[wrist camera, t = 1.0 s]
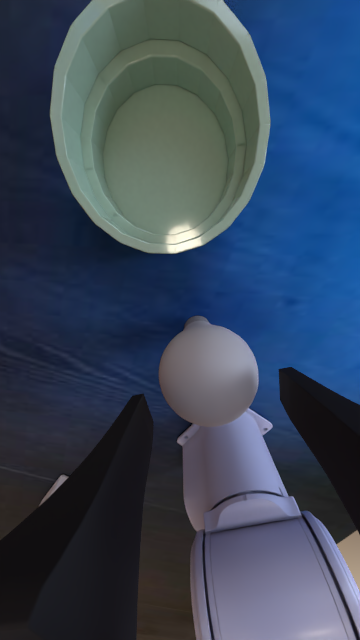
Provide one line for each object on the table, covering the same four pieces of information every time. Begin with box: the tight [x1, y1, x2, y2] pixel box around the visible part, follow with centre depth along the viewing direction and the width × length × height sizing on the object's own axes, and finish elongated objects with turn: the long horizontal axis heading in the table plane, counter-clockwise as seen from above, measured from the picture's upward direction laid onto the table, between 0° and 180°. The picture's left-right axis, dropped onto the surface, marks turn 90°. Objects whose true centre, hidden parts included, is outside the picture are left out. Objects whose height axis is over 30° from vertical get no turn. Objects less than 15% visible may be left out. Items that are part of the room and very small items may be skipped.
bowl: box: [50, 0, 270, 254], centre depth 13 cm, size 12×12×5 cm
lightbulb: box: [159, 316, 258, 427], centre depth 15 cm, size 6×6×11 cm
